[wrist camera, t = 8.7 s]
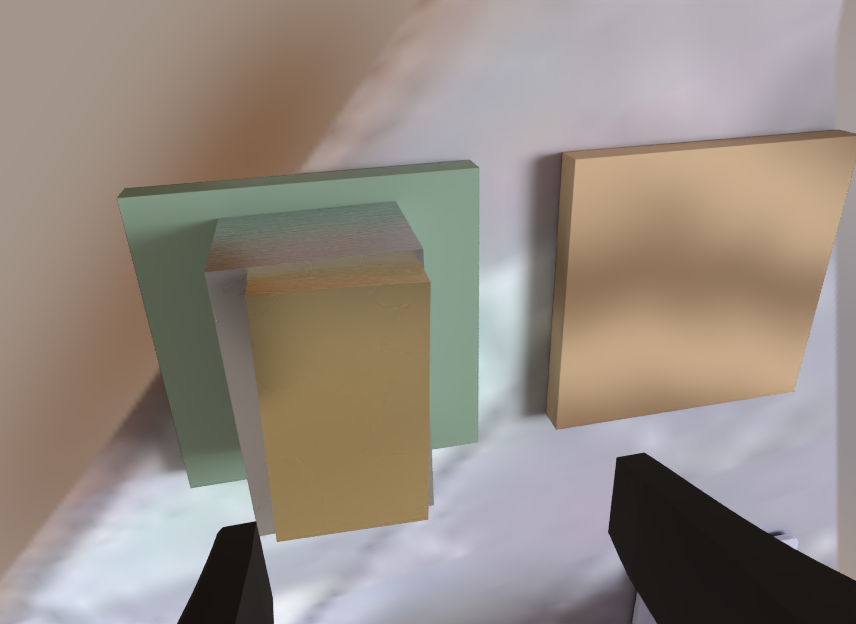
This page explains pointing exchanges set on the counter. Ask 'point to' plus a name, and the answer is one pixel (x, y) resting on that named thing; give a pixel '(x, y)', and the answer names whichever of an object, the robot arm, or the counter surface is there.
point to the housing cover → (343, 395)
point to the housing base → (280, 252)
